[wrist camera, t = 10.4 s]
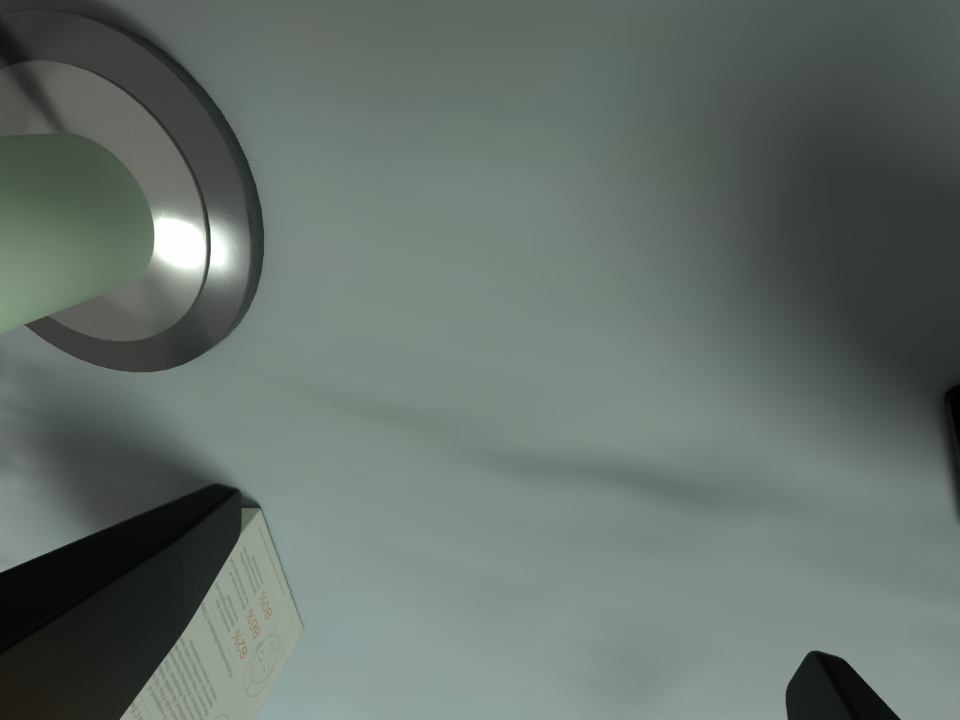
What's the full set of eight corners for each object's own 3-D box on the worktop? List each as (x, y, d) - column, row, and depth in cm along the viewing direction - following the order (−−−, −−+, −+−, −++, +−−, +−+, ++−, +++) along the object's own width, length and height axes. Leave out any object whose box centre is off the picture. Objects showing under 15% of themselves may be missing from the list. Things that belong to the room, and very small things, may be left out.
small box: (162, 503, 28) (-56, 704, 19) (264, 503, 27) (85, 719, 18) (213, 626, 31) (47, 851, 22) (307, 630, 30) (174, 872, 21)
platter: (325, 301, 22) (309, 312, 21) (93, 399, 26) (70, 412, 25) (126, -66, 18) (94, -78, 17) (-108, 116, 23) (-147, 116, 21)
